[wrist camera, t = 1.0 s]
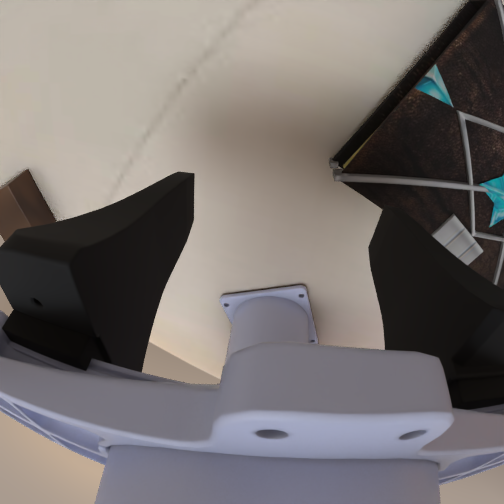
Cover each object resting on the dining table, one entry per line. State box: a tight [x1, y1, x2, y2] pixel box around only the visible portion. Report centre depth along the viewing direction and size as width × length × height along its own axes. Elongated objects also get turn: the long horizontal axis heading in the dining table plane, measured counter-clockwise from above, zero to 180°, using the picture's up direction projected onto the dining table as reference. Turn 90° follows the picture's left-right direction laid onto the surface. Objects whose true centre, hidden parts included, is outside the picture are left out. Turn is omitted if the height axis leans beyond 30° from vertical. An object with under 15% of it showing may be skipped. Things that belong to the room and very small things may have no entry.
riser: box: [0, 169, 56, 241], centre depth 23 cm, size 6×6×3 cm
